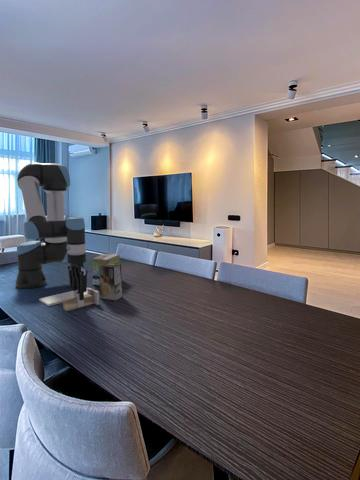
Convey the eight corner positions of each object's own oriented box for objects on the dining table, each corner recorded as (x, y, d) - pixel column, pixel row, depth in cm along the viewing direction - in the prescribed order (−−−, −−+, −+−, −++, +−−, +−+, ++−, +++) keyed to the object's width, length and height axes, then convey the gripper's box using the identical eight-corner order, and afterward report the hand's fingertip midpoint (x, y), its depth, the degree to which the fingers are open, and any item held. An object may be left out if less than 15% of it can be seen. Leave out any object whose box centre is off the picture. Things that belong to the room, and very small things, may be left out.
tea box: (109, 286, 163) (108, 259, 160) (92, 285, 165) (91, 258, 162) (120, 278, 177) (119, 253, 175) (104, 277, 179) (103, 253, 177)
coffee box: (122, 296, 146) (122, 264, 144) (115, 300, 140) (114, 267, 138) (107, 294, 150) (106, 262, 147) (98, 298, 144) (97, 265, 141)
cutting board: (39, 300, 140) (39, 298, 140) (86, 289, 157) (86, 287, 157) (48, 306, 133) (48, 304, 133) (96, 293, 150) (96, 291, 150)
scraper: (60, 308, 132) (59, 294, 131) (90, 300, 142) (89, 287, 141) (69, 313, 126) (68, 299, 125) (99, 304, 136) (98, 291, 135)
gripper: (59, 251, 132) (62, 303, 136) (77, 257, 122) (79, 313, 125) (75, 249, 138) (78, 299, 141) (94, 254, 127) (96, 308, 131)
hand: (78, 305), depth 133 cm, fingers closed on scraper, 3 cm apart
